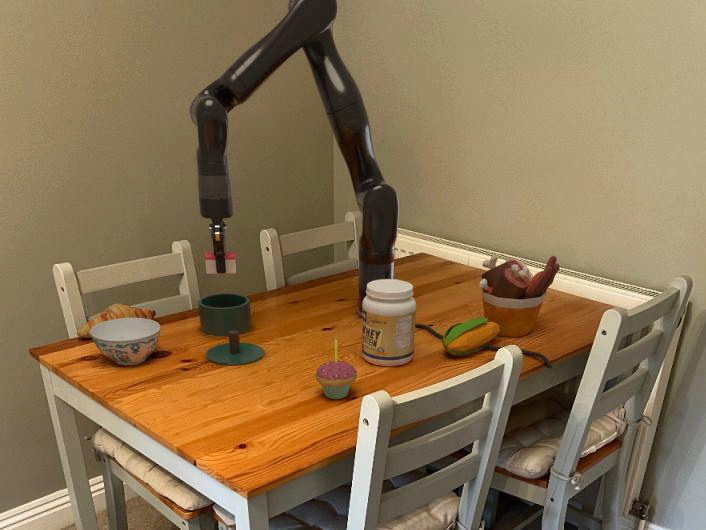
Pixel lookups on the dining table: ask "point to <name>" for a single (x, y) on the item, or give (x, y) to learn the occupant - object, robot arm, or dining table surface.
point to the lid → (235, 352)
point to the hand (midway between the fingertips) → (221, 269)
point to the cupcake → (336, 376)
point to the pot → (224, 314)
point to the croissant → (115, 316)
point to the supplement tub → (388, 322)
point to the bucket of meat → (514, 294)
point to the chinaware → (126, 339)
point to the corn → (469, 336)
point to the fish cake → (229, 263)
